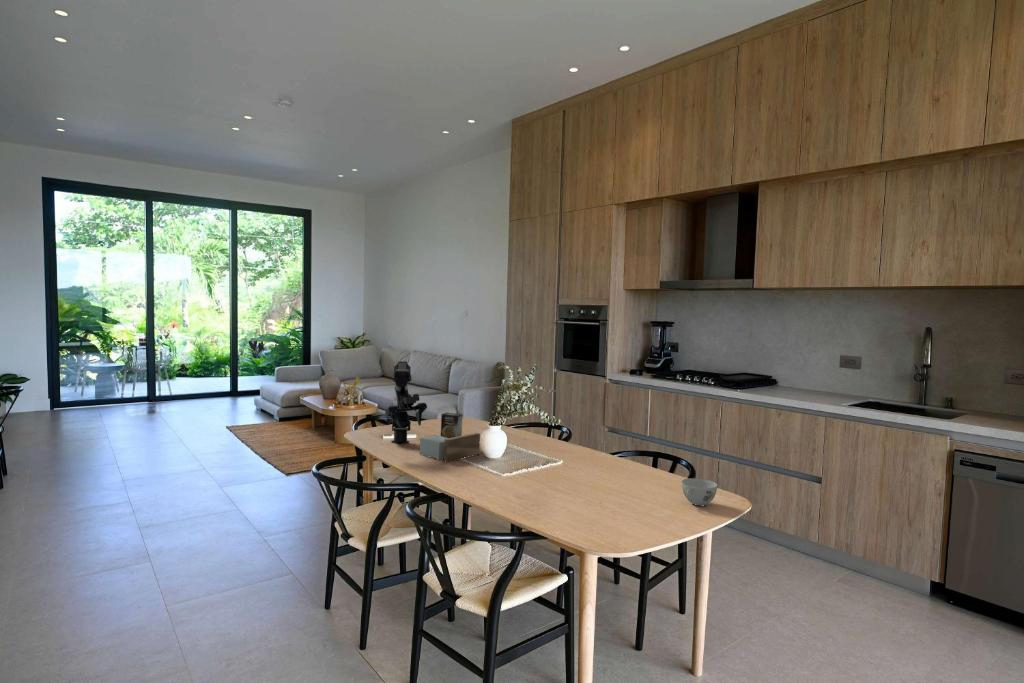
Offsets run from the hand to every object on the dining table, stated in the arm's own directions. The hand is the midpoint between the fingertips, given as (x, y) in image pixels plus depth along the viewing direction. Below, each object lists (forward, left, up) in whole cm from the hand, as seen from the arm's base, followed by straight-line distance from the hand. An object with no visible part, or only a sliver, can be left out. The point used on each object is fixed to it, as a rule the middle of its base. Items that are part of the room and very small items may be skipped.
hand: (410, 426), depth 256 cm
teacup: (+120, +35, -14) cm, 126 cm away
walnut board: (+18, +16, -14) cm, 27 cm away
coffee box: (-2, +27, -14) cm, 30 cm away
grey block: (+7, +10, -14) cm, 18 cm away
